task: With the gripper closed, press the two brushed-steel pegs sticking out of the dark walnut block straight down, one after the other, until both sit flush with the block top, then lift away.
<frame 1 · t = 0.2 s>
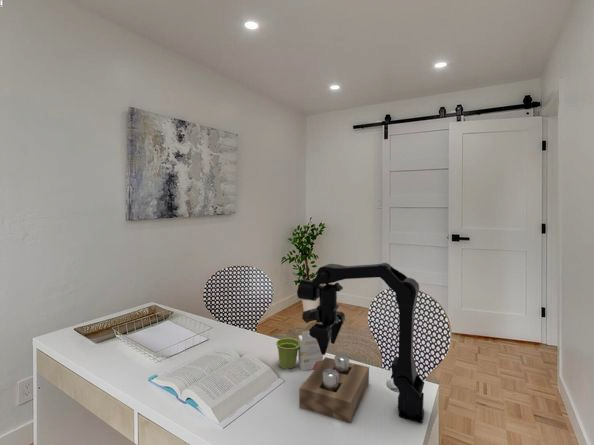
hand: (328, 348, 105), 14 cm above the table, fingers open, 9 cm apart
peg far: (341, 365, 107), point 7 cm above the table, slide at 4.0 cm
walnut block: (336, 394, 103), on the table
peg near: (330, 382, 97), point 7 cm above the table, slide at 4.0 cm
plant pot: (287, 365, 122), on the table, touching ink cartridge box
ink cartridge box: (310, 367, 121), on the table, touching plant pot
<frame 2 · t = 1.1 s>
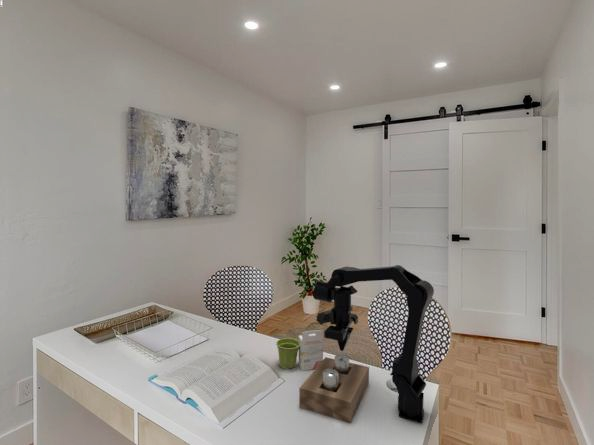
hand: (341, 350, 107), 13 cm above the table, fingers closed
nothing on the table moved.
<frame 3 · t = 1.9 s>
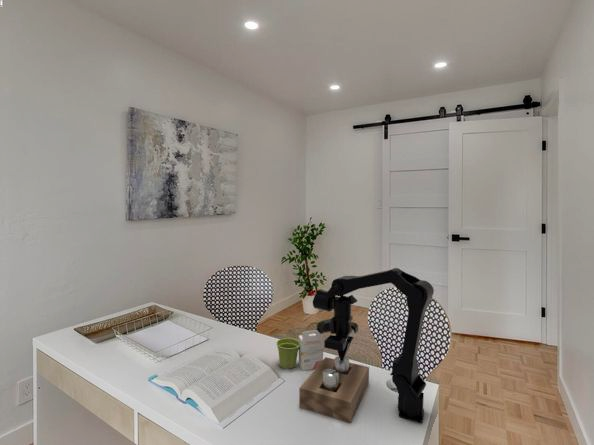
hand: (341, 359, 107), 9 cm above the table, fingers closed, pressing on peg far
peg far: (341, 367, 107), point 6 cm above the table, slide at 3.3 cm, touching gripper
everything else where it was.
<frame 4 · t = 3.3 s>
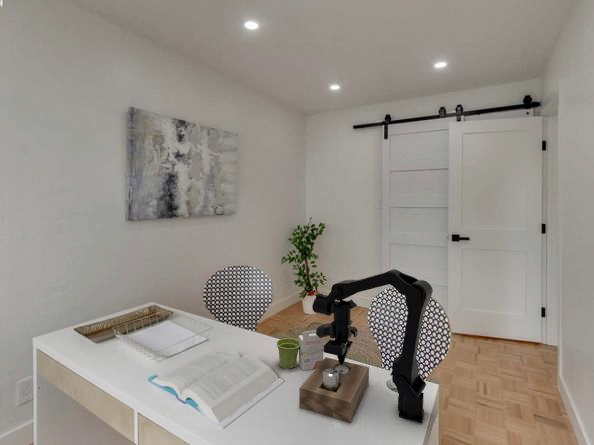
hand: (341, 363, 107), 8 cm above the table, fingers closed
peg far: (341, 377, 107), point 3 cm above the table, slide at 0.0 cm
everything else where it was.
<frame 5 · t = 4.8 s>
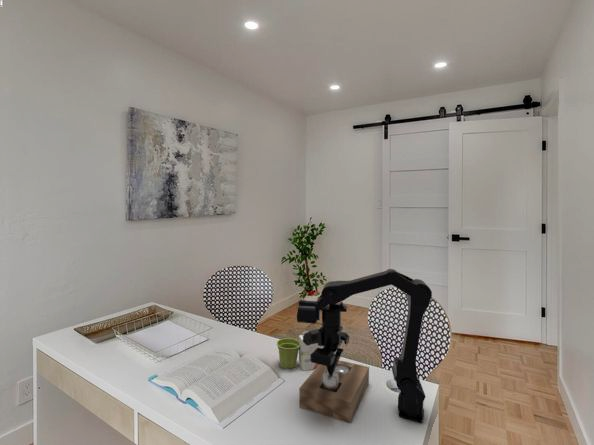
hand: (330, 374, 97), 10 cm above the table, fingers closed, pressing on peg near
peg near: (330, 383, 97), point 7 cm above the table, slide at 3.6 cm, touching gripper
everything else where it was.
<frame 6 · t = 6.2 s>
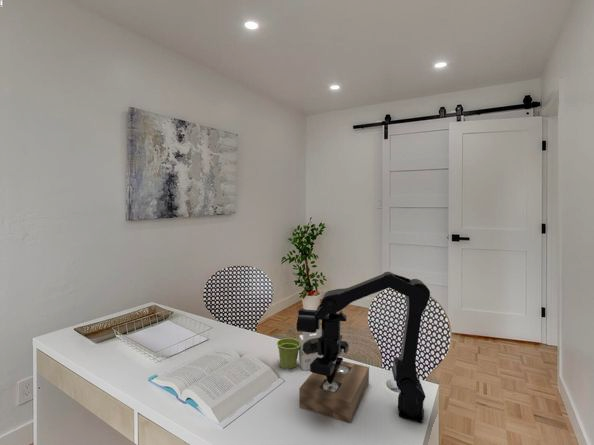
hand: (330, 383, 97), 7 cm above the table, fingers closed
peg near: (330, 394, 97), point 3 cm above the table, slide at 0.0 cm
everything else where it was.
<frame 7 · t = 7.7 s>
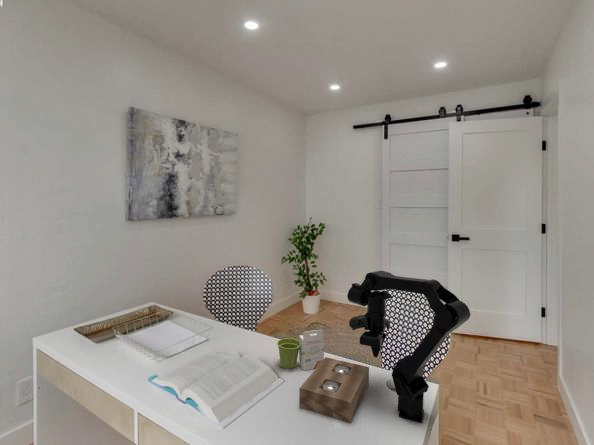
hand: (375, 356, 103), 12 cm above the table, fingers closed
nothing on the table moved.
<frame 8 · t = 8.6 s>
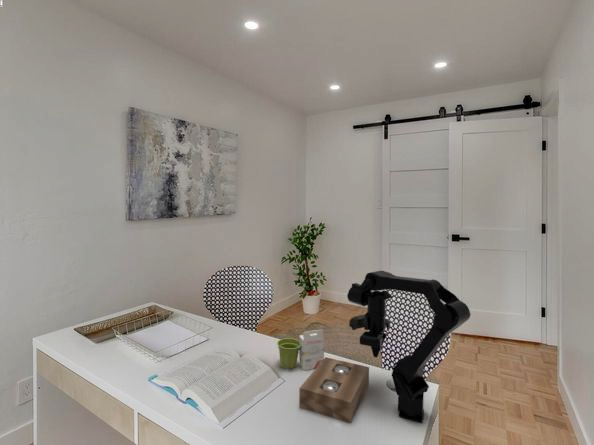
hand: (375, 356, 103), 12 cm above the table, fingers closed
nothing on the table moved.
at the end: peg far slide at 0.0 cm; peg near slide at 0.0 cm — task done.
